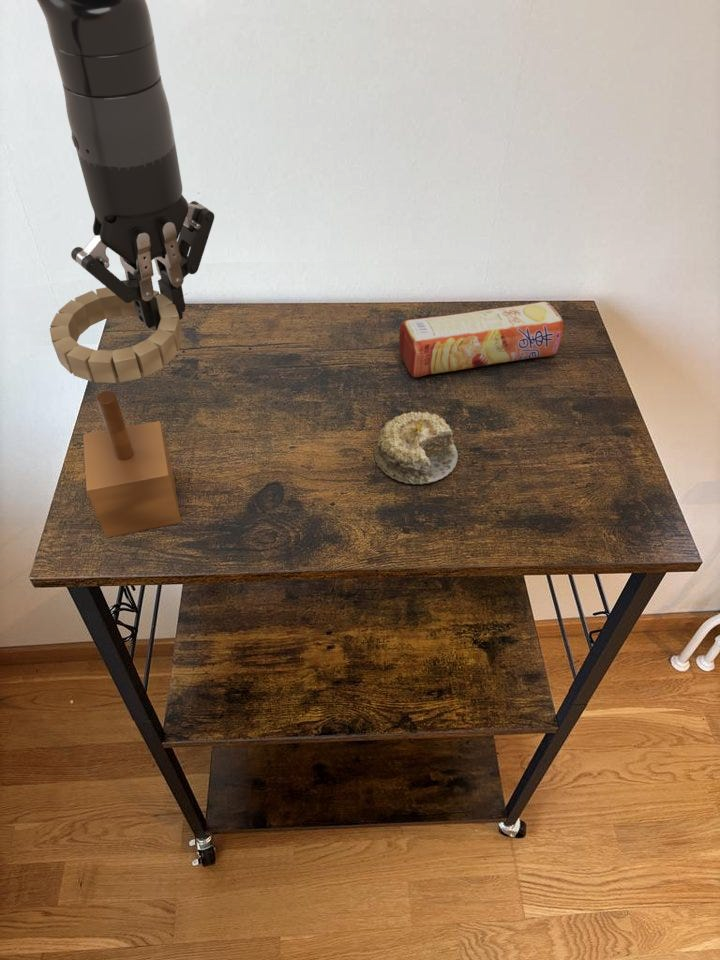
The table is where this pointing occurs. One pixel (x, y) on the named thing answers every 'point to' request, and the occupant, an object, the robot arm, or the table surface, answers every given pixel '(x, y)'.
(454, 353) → the snack package
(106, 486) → the post
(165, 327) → the ring
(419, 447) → the cake
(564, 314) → the table surface
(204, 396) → the table surface
